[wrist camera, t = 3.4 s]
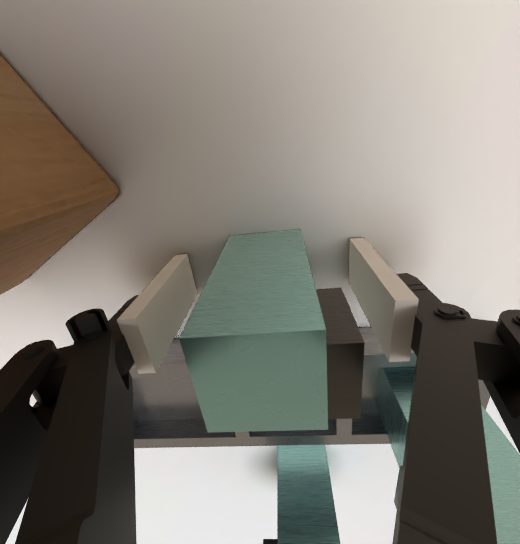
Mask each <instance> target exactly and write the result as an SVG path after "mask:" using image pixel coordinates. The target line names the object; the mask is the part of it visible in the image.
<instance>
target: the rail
mask: <svg viewBox="0 0 520 544" xmlns="http://www.w3.org/2000/svg"><path fill="white" fill-rule="evenodd" d="M359 331H360V333H361V335H362V338H363V340H364V342H365V346H364V364H363V382H362V400H361V418H356V419H328V430H291V431H249V432H208V431H207V428H206V425H205V422H204V418H203V415H202V412H201V409H200V405H199V402H198V399H197V396H196V392H195V389H194V386H193V383H192V379H191V376H190V373H189V370H188V366H187V363H186V360H185V357H184V353H183V350H182V347H181V344H180V340H179V339H173V341H172V343H171V345H170V347H169V349H168V351H167V353H166V355H165V357H164V358H163V360H162V362H161V364H160V366H159V368H158V370H157V372H156V373H145V374H138V371H137V369H136V366H135V364H133V366H132V367H131V369H130V370H129V372H130V374H131V376H132V384H133V427H134V448H159V447H217V446H275V445H334V444H391V447H392V449H393V452H394V455H395V457H396V460H397V463H398V465H399V468H400V469H399V475H398V481H397V487H396V494H395V500H394V502H395V505H396V508H397V506H398V498H399V490H400V483H401V475H402V467H403V459H404V452H405V444H406V436H407V428H408V421H409V413H410V405H411V397H412V390H413V382H414V381H413V379H414V373H415V366H416V360H417V356H416V355H415V353H414V352H413V350H411V357H410V361H402V362H389V361H388V359H387V357H386V355H385V353H384V351H383V349H382V347H381V345H380V343H379V341H378V339H377V337H376V335H375V333H374V331H373V329H372V327H363V328H359ZM478 383H479V391H480V400H481V408H482V417H483V425H484V434H485V442H486V451H487V459H488V468H489V476H490V485H491V493H492V502H493V510H494V519H495V527H496V536H497V544H520V455H519V453H518V452H517V451H516V449H515V448H514V447H513V445H512V444H511V443H510V442H509V440H508V439H507V438H506V436H505V435H504V434H503V432H502V431H501V430H500V429H499V427H498V426H497V425H496V423H495V422H494V421H493V419H492V418H491V417H490V416H489V414H488V413H487V412H486V407H487V404H488V401H489V398H490V394H489V392H488V390H487V388H486V386H485V384H484V382H483V380H478Z"/></svg>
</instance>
